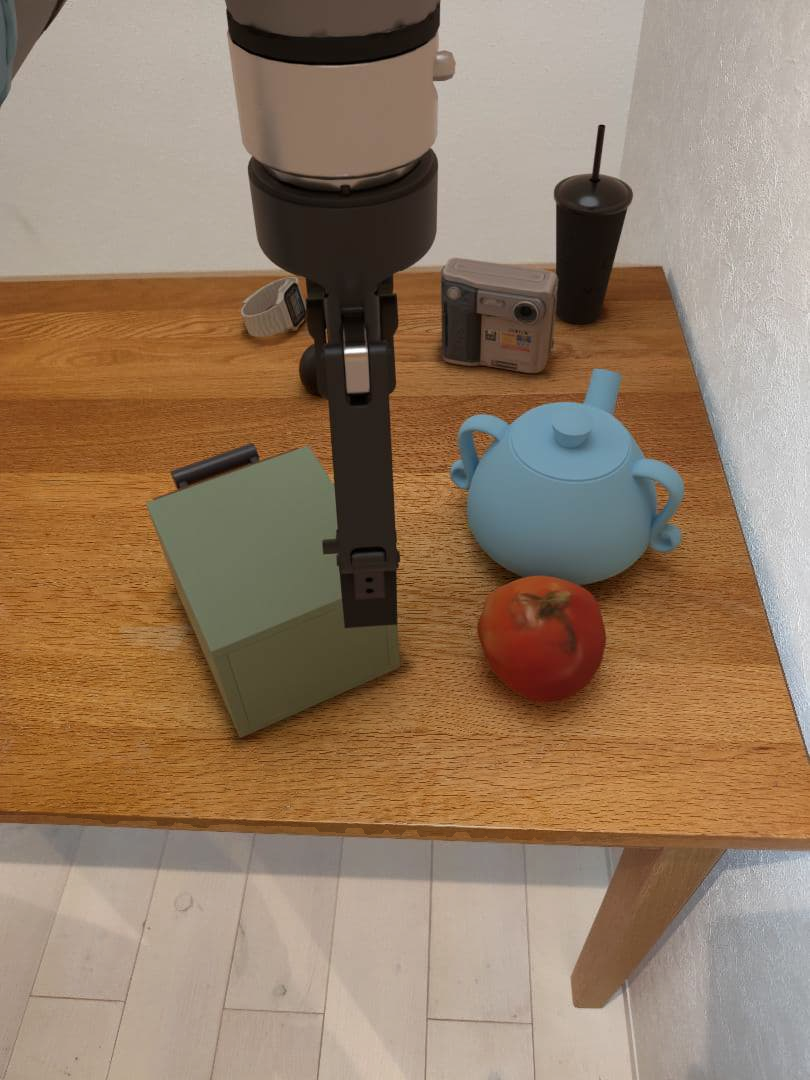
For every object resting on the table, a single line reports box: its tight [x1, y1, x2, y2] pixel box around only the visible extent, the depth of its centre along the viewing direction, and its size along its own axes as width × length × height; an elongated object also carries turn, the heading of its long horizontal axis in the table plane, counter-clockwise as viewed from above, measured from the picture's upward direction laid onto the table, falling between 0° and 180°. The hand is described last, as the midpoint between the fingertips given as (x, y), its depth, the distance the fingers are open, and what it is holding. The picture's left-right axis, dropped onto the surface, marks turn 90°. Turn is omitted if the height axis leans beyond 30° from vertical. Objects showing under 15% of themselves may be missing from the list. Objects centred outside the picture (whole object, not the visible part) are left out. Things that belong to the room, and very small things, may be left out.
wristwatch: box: [240, 276, 307, 338], centre depth 96 cm, size 9×6×5 cm
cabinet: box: [145, 445, 401, 739], centre depth 66 cm, size 15×13×11 cm
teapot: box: [449, 368, 685, 586], centre depth 72 cm, size 20×20×13 cm
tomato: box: [476, 576, 607, 704], centre depth 64 cm, size 9×9×8 cm
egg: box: [298, 343, 321, 396], centre depth 88 cm, size 4×4×5 cm
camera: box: [440, 257, 558, 374], centre depth 89 cm, size 11×6×10 cm, turn 70°
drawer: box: [152, 442, 298, 501], centre depth 68 cm, size 19×12×9 cm, turn 27°
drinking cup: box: [553, 124, 634, 325], centre depth 90 cm, size 8×8×20 cm
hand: (364, 525), depth 50 cm, fingers open, 13 cm apart
